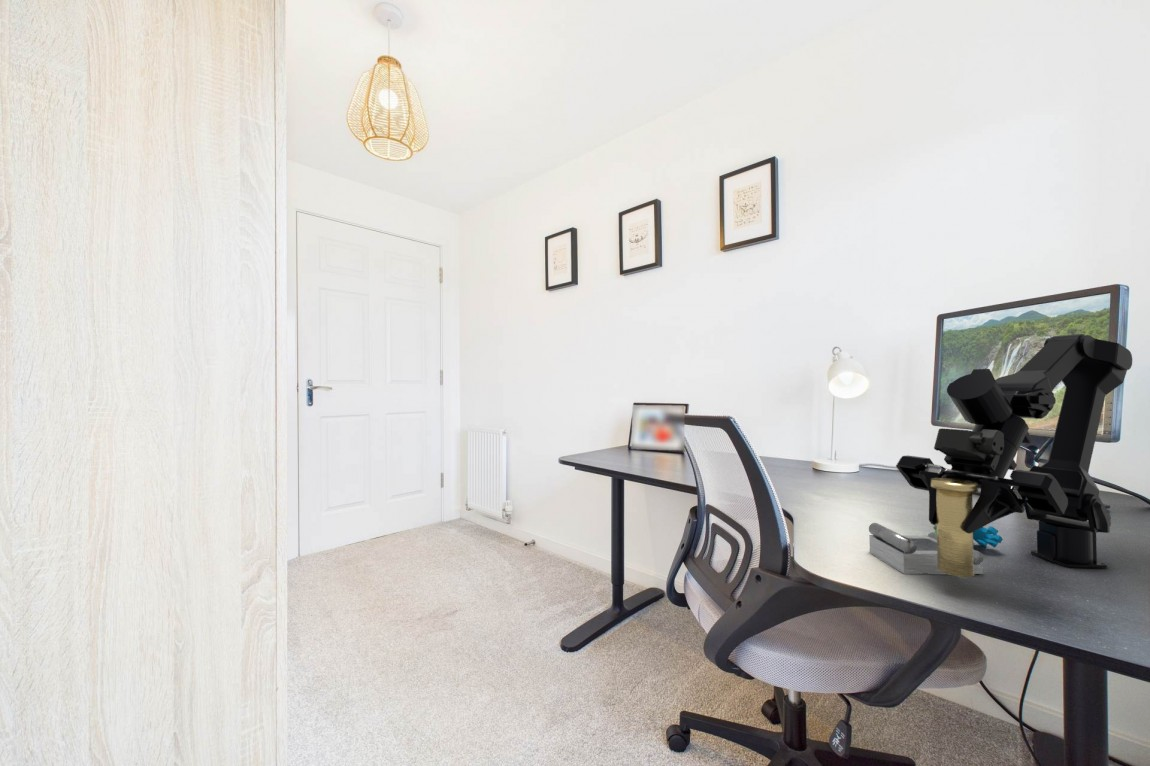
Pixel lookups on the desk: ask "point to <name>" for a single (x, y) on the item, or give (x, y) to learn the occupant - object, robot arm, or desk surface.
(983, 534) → the gear
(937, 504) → the pin
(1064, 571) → the desk surface
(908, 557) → the metal roller frame
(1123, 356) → the robot arm
